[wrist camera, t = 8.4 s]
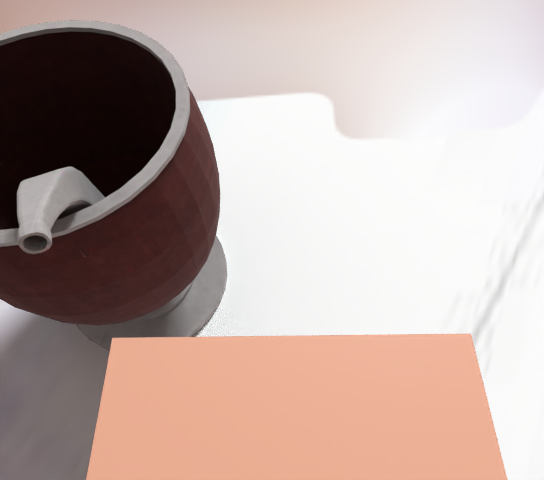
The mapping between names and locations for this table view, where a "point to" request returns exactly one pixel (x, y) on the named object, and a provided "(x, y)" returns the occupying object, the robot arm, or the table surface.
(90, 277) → the mate gourd
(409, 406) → the terracotta block
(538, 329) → the table surface
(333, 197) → the table surface
